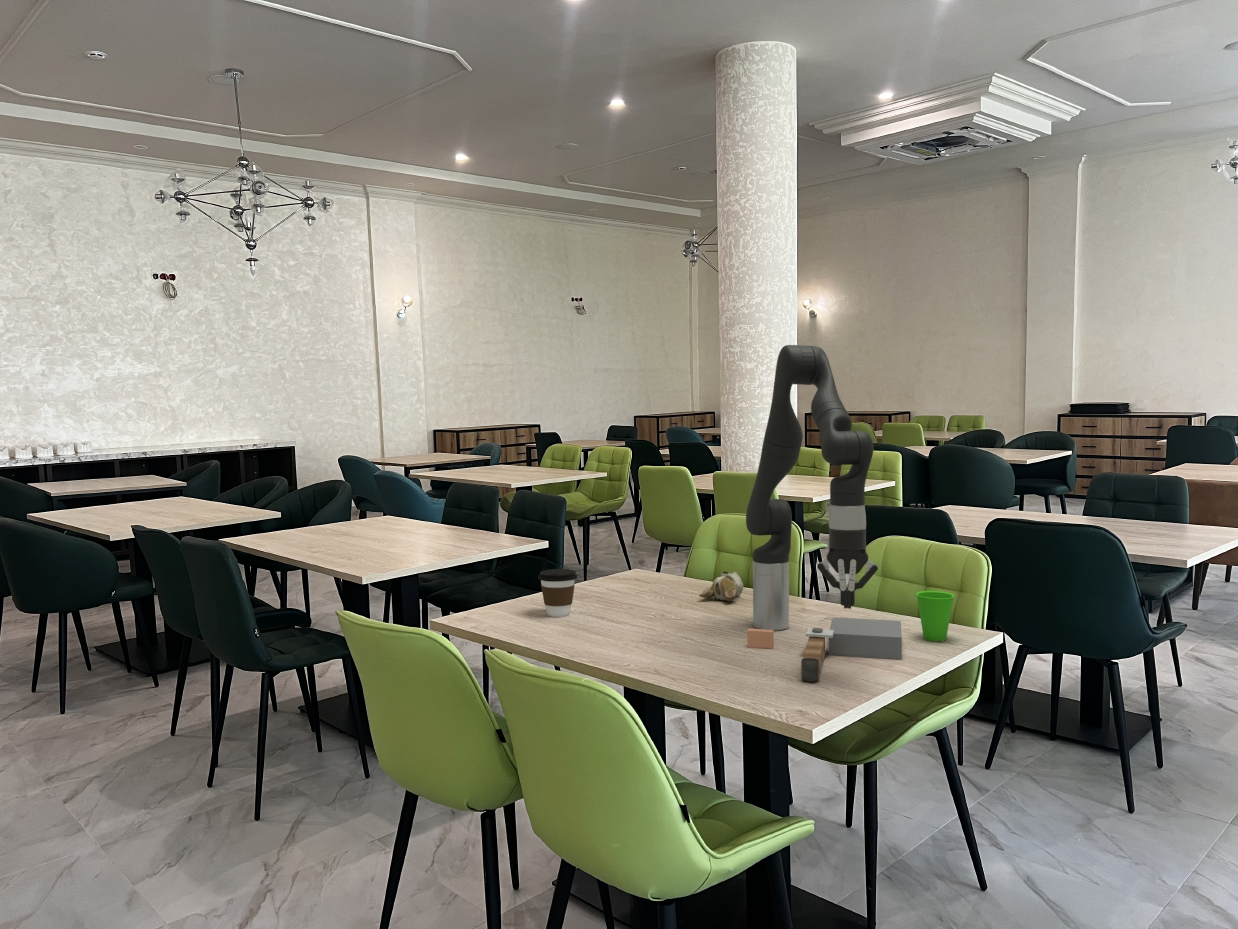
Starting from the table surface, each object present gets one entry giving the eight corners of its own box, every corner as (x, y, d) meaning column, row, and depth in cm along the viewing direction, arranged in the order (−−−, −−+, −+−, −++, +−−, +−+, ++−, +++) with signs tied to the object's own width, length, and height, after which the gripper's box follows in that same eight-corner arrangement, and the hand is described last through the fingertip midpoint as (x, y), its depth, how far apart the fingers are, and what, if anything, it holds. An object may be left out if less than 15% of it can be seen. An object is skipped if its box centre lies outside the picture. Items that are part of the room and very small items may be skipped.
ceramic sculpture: (751, 567, 266) (728, 579, 253) (752, 596, 266) (730, 608, 254) (720, 565, 272) (696, 576, 259) (721, 592, 272) (697, 604, 260)
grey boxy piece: (755, 632, 224) (755, 610, 223) (900, 641, 214) (900, 617, 213) (744, 652, 206) (744, 627, 206) (901, 662, 196) (901, 636, 196)
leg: (810, 650, 206) (810, 633, 206) (825, 651, 205) (825, 634, 205) (800, 681, 183) (800, 662, 183) (818, 682, 182) (818, 663, 182)
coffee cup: (573, 619, 240) (572, 576, 240) (534, 618, 242) (533, 575, 241) (581, 610, 251) (580, 568, 250) (544, 609, 253) (543, 568, 252)
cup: (952, 635, 218) (953, 591, 218) (956, 645, 210) (956, 599, 209) (914, 633, 221) (914, 590, 220) (916, 642, 212) (916, 597, 211)
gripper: (880, 524, 187) (880, 605, 188) (816, 523, 191) (816, 602, 192) (880, 529, 180) (880, 613, 181) (813, 527, 184) (814, 610, 185)
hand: (847, 607), depth 186 cm, fingers closed
